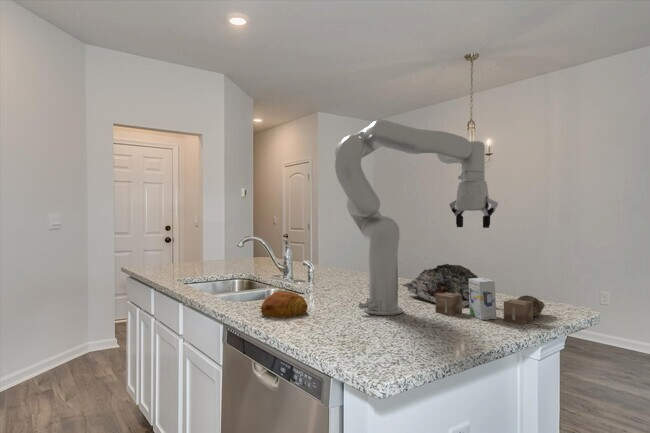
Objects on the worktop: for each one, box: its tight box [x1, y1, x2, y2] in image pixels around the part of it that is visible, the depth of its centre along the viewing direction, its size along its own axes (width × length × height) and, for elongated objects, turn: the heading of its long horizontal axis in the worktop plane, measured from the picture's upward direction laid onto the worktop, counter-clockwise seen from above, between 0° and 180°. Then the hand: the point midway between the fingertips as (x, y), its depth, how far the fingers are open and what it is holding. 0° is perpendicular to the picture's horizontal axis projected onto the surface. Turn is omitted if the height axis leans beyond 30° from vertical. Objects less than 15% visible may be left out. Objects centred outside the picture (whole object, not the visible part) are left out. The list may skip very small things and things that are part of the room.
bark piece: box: [402, 263, 479, 309], centre depth 158 cm, size 19×8×30 cm
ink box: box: [468, 277, 497, 321], centre depth 131 cm, size 9×5×12 cm, turn 5°
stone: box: [516, 294, 545, 317], centre depth 132 cm, size 13×8×8 cm
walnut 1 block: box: [503, 298, 534, 326], centre depth 125 cm, size 6×6×6 cm
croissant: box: [259, 290, 309, 318], centre depth 137 cm, size 14×16×8 cm
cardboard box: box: [435, 292, 463, 317], centre depth 136 cm, size 6×6×6 cm
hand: (472, 227), depth 143 cm, fingers open, 9 cm apart
